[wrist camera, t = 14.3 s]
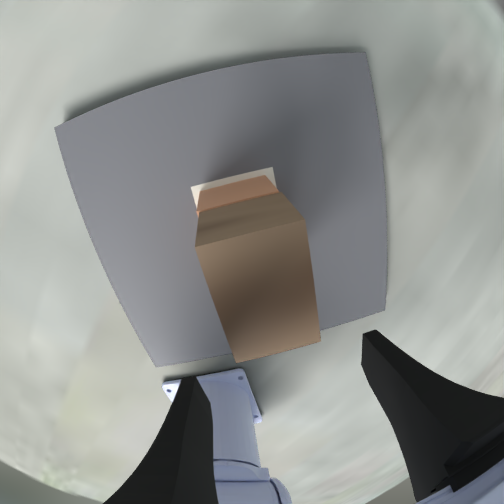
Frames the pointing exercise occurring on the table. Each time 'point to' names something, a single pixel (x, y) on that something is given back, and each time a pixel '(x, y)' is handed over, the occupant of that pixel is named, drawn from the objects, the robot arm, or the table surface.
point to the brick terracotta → (235, 193)
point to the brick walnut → (259, 275)
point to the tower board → (225, 172)
